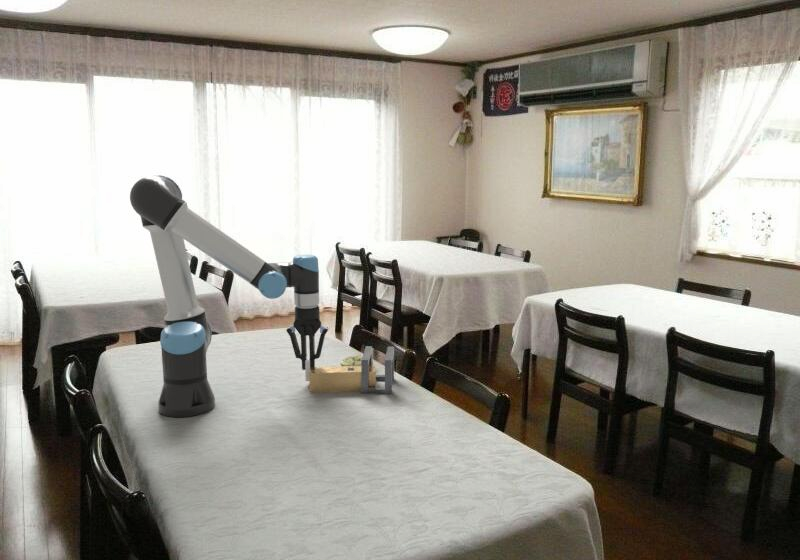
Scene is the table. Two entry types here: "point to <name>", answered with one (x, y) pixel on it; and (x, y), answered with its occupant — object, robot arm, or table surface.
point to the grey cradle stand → (388, 376)
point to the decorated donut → (352, 361)
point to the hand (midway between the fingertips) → (308, 379)
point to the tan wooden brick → (339, 378)
